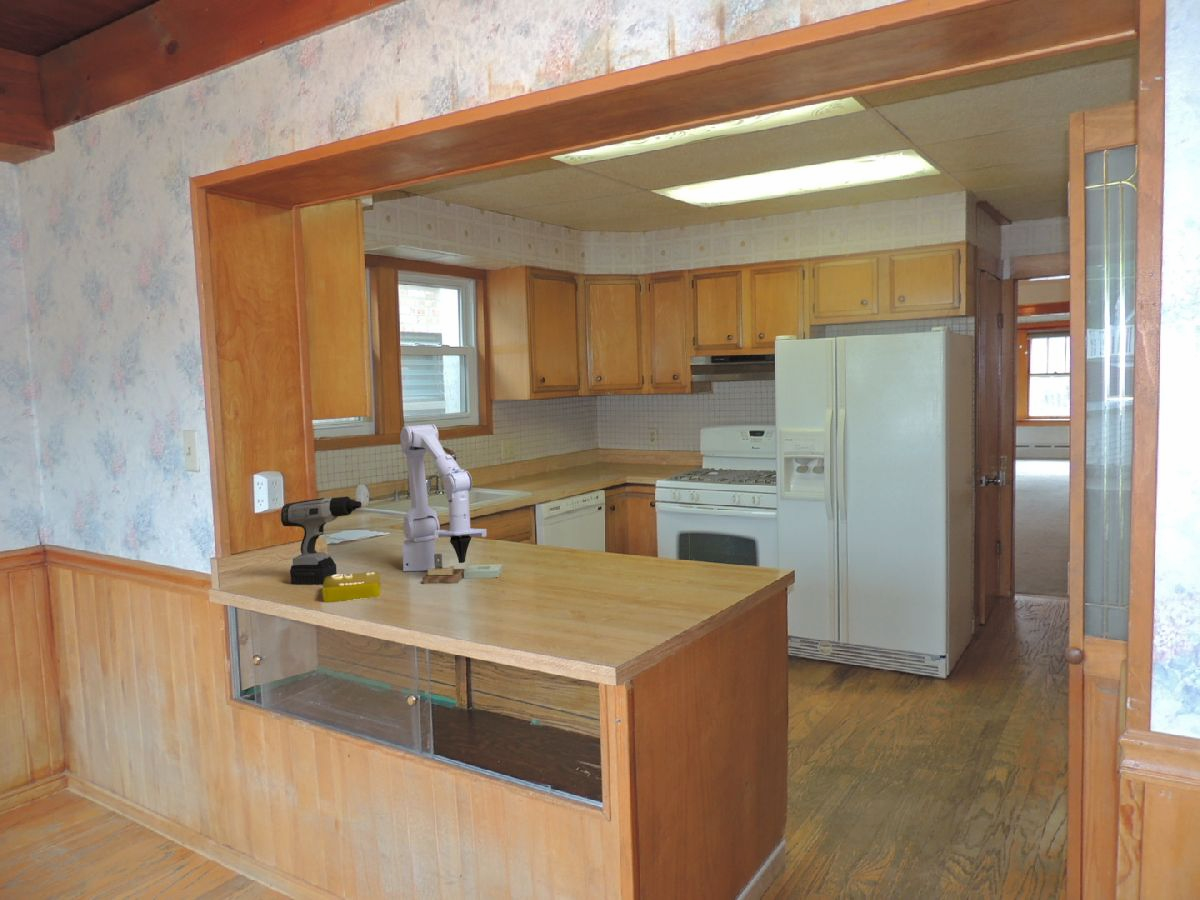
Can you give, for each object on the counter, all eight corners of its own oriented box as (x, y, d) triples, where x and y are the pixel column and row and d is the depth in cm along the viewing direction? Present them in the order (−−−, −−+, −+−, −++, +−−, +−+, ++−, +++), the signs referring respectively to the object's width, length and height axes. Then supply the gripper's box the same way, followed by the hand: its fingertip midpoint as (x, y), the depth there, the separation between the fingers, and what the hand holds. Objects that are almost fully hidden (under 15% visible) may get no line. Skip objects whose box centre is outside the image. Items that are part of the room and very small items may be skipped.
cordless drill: (359, 585, 244) (353, 498, 241) (281, 584, 249) (274, 499, 246) (371, 578, 251) (366, 494, 249) (296, 577, 256) (289, 495, 254)
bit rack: (464, 578, 247) (463, 571, 247) (469, 571, 255) (469, 565, 255) (498, 577, 247) (498, 570, 247) (503, 570, 255) (502, 564, 254)
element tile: (322, 604, 226) (321, 586, 226) (325, 591, 241) (324, 574, 240) (381, 598, 230) (380, 581, 229) (380, 585, 244) (379, 569, 244)
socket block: (423, 583, 243) (422, 577, 242) (431, 576, 252) (430, 569, 251) (458, 583, 242) (457, 576, 242) (464, 575, 251) (464, 568, 251)
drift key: (427, 575, 243) (427, 568, 242) (429, 573, 245) (429, 566, 245) (452, 575, 242) (452, 568, 242) (454, 573, 244) (454, 566, 244)
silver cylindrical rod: (434, 579, 248) (433, 555, 247) (436, 577, 250) (435, 553, 249) (442, 578, 248) (440, 555, 247) (443, 577, 250) (442, 553, 249)
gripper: (430, 517, 238) (433, 565, 239) (482, 516, 237) (484, 564, 238) (436, 513, 245) (439, 560, 246) (487, 512, 244) (489, 559, 245)
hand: (462, 562), depth 243 cm, fingers closed
